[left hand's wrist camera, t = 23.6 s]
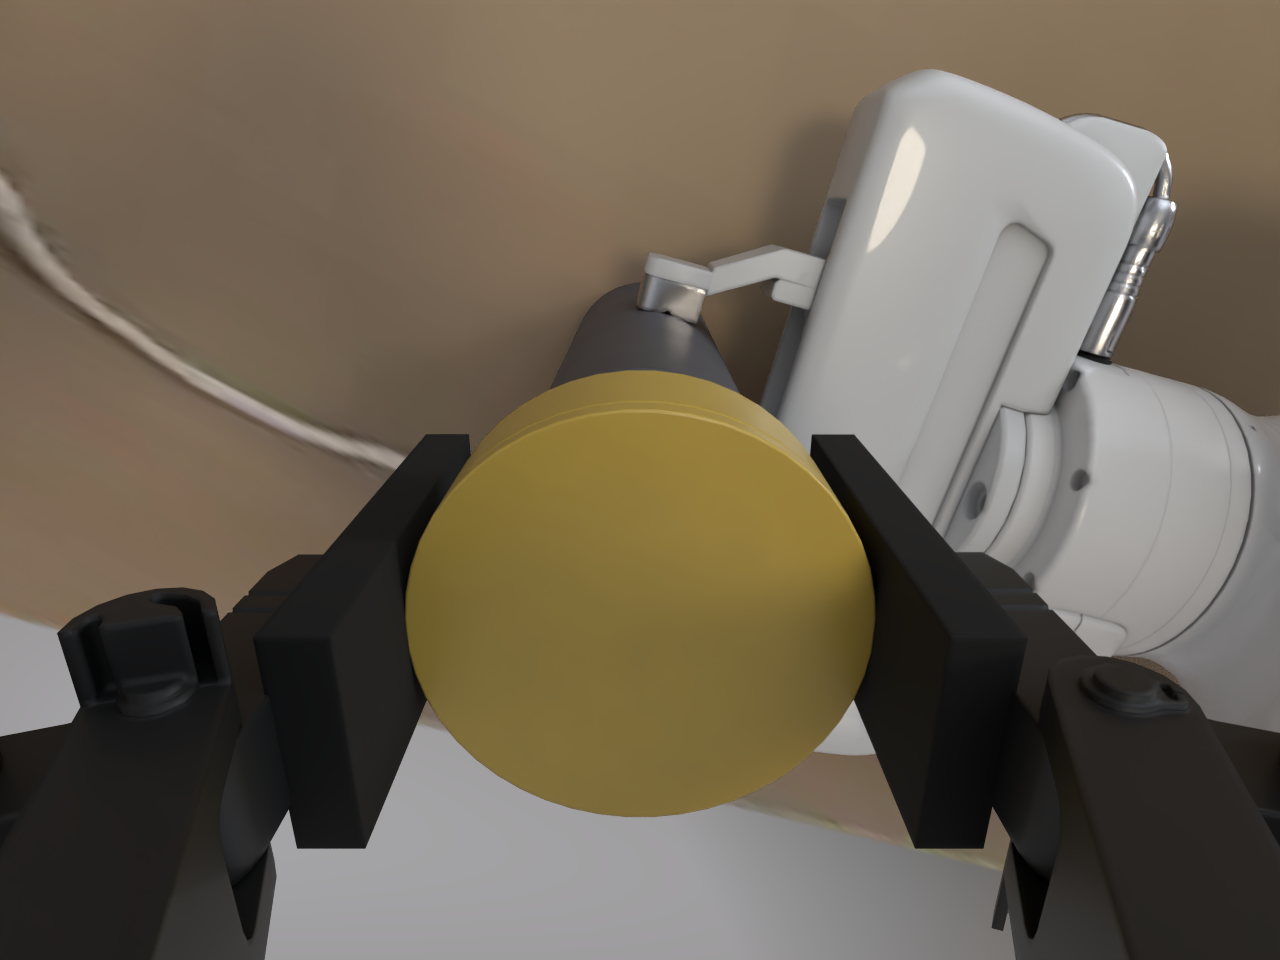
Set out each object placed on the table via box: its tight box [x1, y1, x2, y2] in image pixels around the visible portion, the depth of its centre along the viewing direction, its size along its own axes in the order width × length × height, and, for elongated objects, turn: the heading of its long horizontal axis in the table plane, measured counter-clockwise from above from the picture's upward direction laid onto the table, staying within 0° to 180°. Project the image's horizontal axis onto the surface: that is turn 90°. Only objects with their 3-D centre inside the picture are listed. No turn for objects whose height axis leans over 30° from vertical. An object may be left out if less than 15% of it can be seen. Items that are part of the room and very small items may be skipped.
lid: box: [405, 370, 876, 817], centre depth 11 cm, size 6×6×2 cm
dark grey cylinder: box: [550, 283, 740, 394], centre depth 21 cm, size 5×5×17 cm
